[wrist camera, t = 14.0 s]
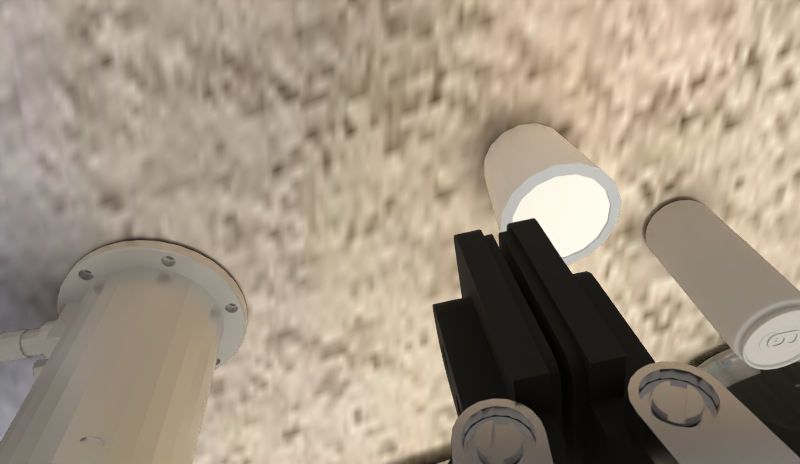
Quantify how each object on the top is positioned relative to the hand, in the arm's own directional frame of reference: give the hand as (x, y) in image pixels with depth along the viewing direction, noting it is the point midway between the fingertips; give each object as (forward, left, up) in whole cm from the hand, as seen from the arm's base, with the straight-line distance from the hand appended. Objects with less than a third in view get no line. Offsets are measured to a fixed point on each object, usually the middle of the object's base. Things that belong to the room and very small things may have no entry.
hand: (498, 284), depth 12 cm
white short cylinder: (+7, -10, -23) cm, 27 cm away
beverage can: (+18, -17, -23) cm, 34 cm away
